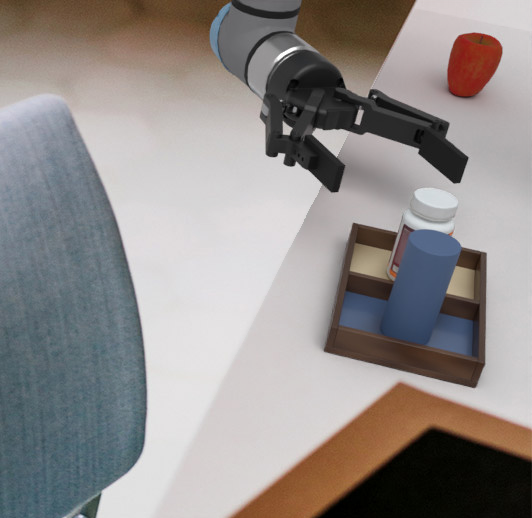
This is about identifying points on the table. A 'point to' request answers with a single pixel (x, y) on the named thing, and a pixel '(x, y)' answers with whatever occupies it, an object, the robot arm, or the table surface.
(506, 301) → the table surface
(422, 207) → the pill bottle
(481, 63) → the apple
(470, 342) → the sorting tray
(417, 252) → the blue cylinder
